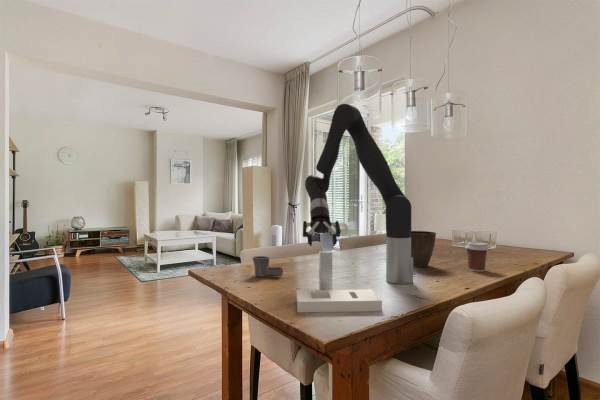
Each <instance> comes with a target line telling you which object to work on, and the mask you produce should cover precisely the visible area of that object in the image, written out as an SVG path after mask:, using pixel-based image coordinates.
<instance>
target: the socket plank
mask: <svg viewBox="0 0 600 400" xmlns="http://www.w3.org/2000/svg"><path fill="white" fill-rule="evenodd" d="M296 308H297V313H337V312H338V313H339V312H340V313H342V312H343V313H346V312H348V313H349V312H350V313H352V312H353V313H355V312H361V313H363V312H383V300H382V299H381V298H380V297H379V296H378V294H377V293H376V292H374V290H373V289H371V288H370V289H332V290H319V289H304V290H303V289H299V290H298V289H297V290H296Z"/></svg>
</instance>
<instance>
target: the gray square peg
mask: <svg viewBox="0 0 600 400" xmlns="http://www.w3.org/2000/svg"><path fill="white" fill-rule="evenodd" d="M318 290H333V252H332V251H331V250H319V251H318Z"/></svg>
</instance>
